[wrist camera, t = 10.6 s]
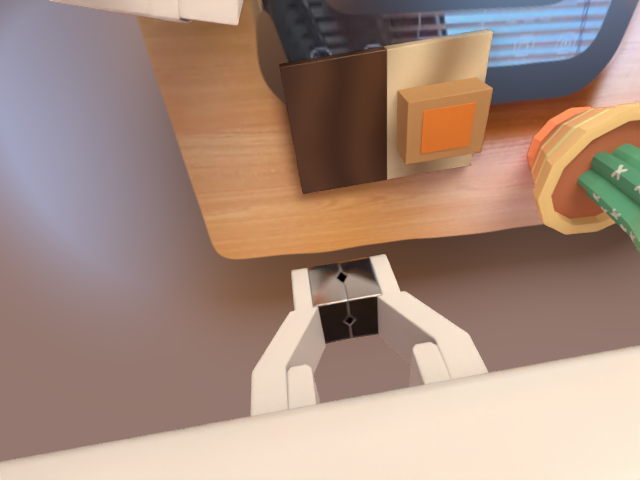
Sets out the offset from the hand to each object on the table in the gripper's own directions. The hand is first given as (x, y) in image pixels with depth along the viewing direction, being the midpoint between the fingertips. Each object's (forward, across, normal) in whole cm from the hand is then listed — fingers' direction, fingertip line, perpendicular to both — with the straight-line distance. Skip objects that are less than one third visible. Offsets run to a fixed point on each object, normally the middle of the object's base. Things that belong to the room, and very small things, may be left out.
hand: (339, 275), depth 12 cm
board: (+29, -9, +8) cm, 31 cm away
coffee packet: (+28, -14, +8) cm, 32 cm away
